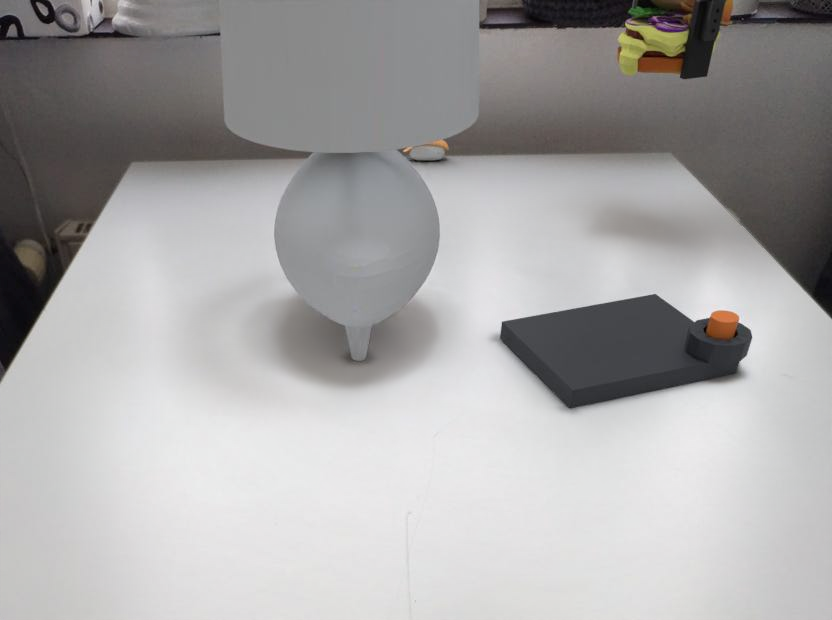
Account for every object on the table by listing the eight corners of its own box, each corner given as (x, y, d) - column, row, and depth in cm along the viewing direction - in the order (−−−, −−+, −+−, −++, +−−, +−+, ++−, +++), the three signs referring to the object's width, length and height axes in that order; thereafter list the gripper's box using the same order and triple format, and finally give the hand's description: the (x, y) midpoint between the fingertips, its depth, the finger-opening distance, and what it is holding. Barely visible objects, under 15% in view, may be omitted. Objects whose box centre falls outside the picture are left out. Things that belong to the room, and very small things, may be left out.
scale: (661, 308, 91) (669, 274, 88) (752, 375, 81) (764, 338, 78) (499, 338, 87) (503, 303, 84) (574, 412, 77) (581, 375, 74)
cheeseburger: (587, 65, 96) (621, -51, 90) (658, 79, 101) (694, -30, 95) (651, 83, 89) (692, -40, 83) (723, 97, 94) (767, -18, 88)
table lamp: (475, 383, 81) (527, -234, 52) (238, 389, 81) (161, -223, 53) (453, 278, 97) (484, -237, 69) (255, 283, 97) (204, -229, 69)
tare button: (723, 326, 81) (728, 308, 80) (739, 338, 79) (745, 319, 78) (700, 331, 80) (705, 312, 79) (716, 342, 79) (721, 324, 77)
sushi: (448, 162, 124) (449, 138, 122) (402, 162, 125) (403, 138, 123) (448, 156, 126) (449, 132, 124) (402, 156, 127) (403, 133, 124)
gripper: (616, -226, 86) (580, 47, 101) (763, -227, 70) (694, 95, 86) (684, -229, 87) (639, 41, 103) (843, -231, 72) (761, 86, 87)
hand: (664, 65), depth 94 cm, fingers closed on cheeseburger, 10 cm apart
